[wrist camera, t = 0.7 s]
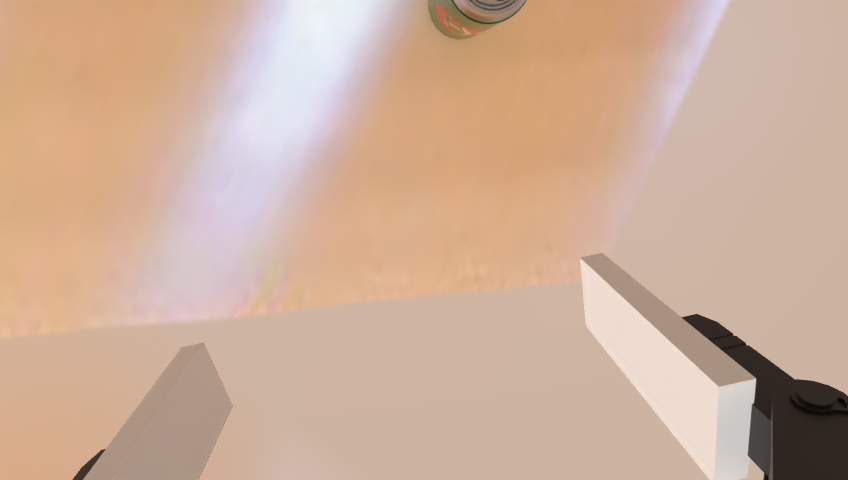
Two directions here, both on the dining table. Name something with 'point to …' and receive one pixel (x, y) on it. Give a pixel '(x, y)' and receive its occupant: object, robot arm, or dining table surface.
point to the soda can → (470, 15)
